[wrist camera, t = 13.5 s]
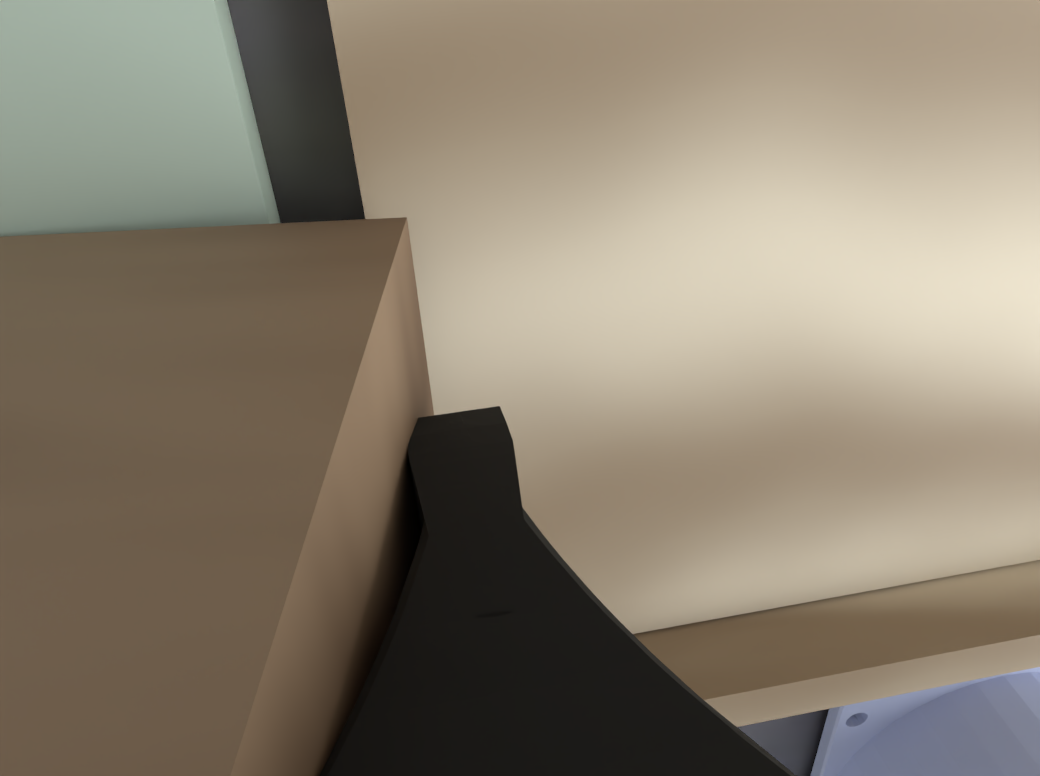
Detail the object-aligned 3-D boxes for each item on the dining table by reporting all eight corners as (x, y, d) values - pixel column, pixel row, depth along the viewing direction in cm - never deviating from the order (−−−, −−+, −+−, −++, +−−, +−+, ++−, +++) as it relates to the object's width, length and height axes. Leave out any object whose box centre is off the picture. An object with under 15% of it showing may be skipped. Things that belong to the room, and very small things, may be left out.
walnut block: (458, 590, 12) (399, 1285, 6) (71, 603, 12) (-343, 1291, 6) (406, 217, 9) (169, 974, 3) (-127, 242, 9) (-1419, 1004, 3)
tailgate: (377, 656, 14) (82, 698, 13) (378, 628, 14) (94, 668, 14) (-214, -1712, 4) (-1456, -1803, 3) (-142, -1523, 4) (-1212, -1585, 4)
